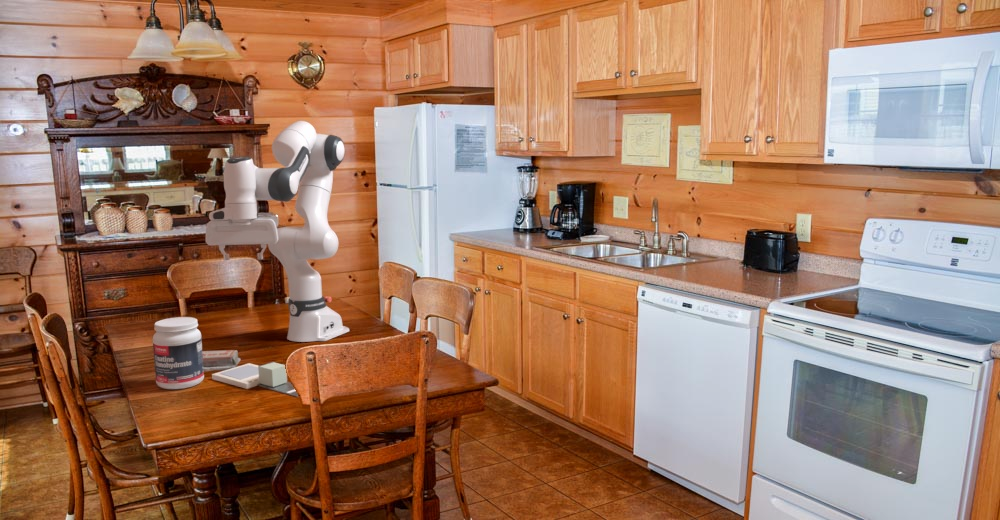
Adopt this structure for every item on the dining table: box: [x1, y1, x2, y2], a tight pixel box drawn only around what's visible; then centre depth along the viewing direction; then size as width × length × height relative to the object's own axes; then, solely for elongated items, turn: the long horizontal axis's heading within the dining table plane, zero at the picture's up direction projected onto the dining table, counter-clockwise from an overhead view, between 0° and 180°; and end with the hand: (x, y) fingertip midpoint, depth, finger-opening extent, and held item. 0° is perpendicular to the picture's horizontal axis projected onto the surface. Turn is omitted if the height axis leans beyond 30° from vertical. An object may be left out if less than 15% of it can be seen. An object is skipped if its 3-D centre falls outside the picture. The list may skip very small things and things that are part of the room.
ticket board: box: [211, 362, 299, 398], centre depth 218 cm, size 13×33×2 cm, turn 55°
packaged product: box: [202, 349, 241, 372], centre depth 235 cm, size 18×5×10 cm
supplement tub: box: [152, 316, 205, 390], centre depth 217 cm, size 13×13×18 cm
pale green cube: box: [258, 361, 288, 387], centre depth 216 cm, size 5×6×5 cm
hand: (243, 259), depth 224 cm, fingers open, 8 cm apart
